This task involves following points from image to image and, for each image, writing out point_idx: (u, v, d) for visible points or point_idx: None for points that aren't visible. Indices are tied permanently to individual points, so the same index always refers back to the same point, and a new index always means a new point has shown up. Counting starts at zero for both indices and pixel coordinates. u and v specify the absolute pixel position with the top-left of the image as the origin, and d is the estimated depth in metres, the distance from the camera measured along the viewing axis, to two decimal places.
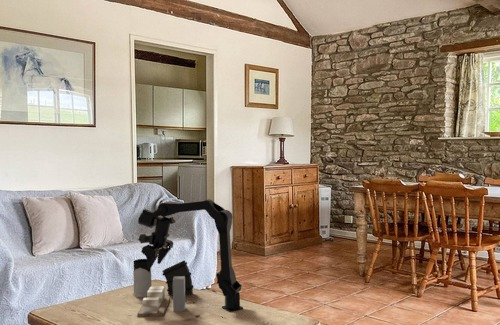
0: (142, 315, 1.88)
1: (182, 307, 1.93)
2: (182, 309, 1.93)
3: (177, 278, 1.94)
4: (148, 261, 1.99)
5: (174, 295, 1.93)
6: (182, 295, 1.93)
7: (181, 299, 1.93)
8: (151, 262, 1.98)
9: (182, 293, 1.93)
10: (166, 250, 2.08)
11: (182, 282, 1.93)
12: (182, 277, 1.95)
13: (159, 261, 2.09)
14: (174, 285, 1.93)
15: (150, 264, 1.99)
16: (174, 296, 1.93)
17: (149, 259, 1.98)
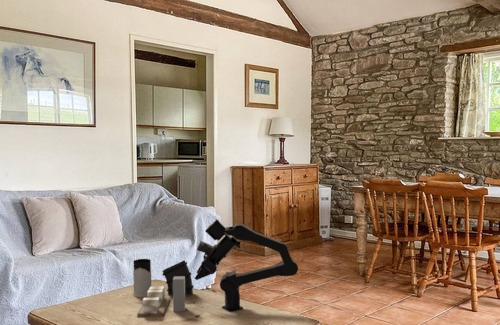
0: (142, 315, 1.88)
1: (182, 307, 1.93)
2: (182, 309, 1.93)
3: (177, 278, 1.94)
4: (200, 273, 1.89)
5: (174, 295, 1.93)
6: (182, 295, 1.93)
7: (181, 299, 1.93)
8: (203, 275, 1.89)
9: (182, 293, 1.93)
10: None
11: (182, 282, 1.93)
12: (182, 277, 1.95)
13: (199, 271, 2.00)
14: (174, 285, 1.93)
15: (200, 276, 1.90)
16: (174, 296, 1.93)
17: (202, 271, 1.89)
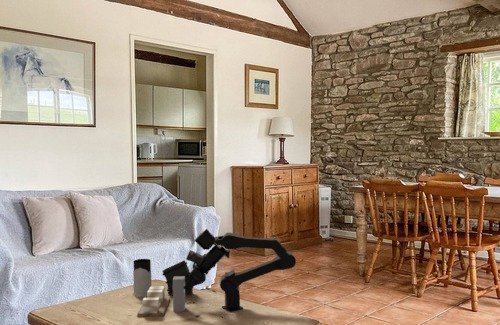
0: (142, 315, 1.88)
1: (182, 307, 1.93)
2: (182, 309, 1.93)
3: (177, 278, 1.94)
4: (189, 282, 1.89)
5: (174, 295, 1.93)
6: (182, 295, 1.93)
7: (181, 299, 1.93)
8: (191, 285, 1.89)
9: (182, 293, 1.93)
10: None
11: (182, 282, 1.93)
12: (182, 277, 1.95)
13: None
14: (174, 285, 1.93)
15: (189, 286, 1.90)
16: (174, 296, 1.93)
17: (191, 281, 1.89)
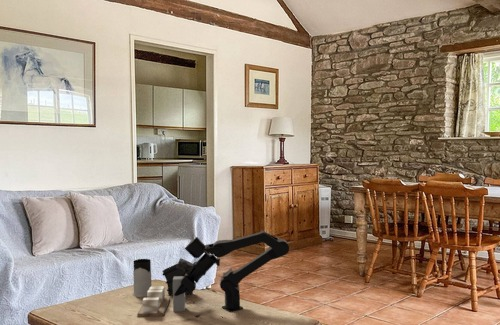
0: (142, 315, 1.88)
1: (182, 307, 1.93)
2: (182, 309, 1.93)
3: (177, 278, 1.94)
4: (179, 289, 1.92)
5: (174, 295, 1.93)
6: (182, 295, 1.93)
7: (181, 299, 1.93)
8: (182, 291, 1.92)
9: None
10: None
11: None
12: (182, 277, 1.95)
13: None
14: (174, 285, 1.93)
15: (179, 292, 1.92)
16: (174, 296, 1.93)
17: (182, 288, 1.92)
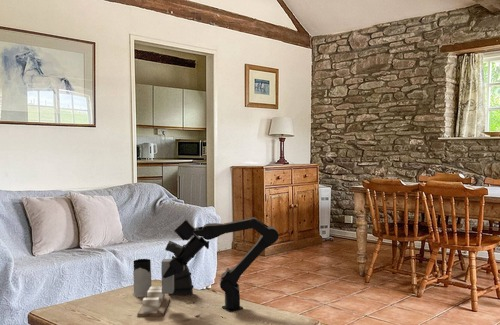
0: (142, 315, 1.88)
1: (171, 289, 1.93)
2: (170, 291, 1.93)
3: (166, 260, 1.94)
4: (168, 271, 1.91)
5: None
6: (170, 277, 1.93)
7: (170, 281, 1.93)
8: (171, 274, 1.91)
9: None
10: None
11: None
12: (171, 259, 1.95)
13: None
14: (163, 267, 1.92)
15: (168, 275, 1.91)
16: (163, 279, 1.92)
17: (170, 270, 1.91)
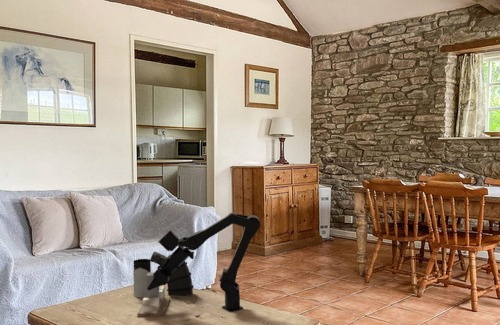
0: (142, 315, 1.88)
1: None
2: None
3: (151, 274, 1.94)
4: (152, 283, 1.90)
5: (148, 291, 1.92)
6: (155, 291, 1.93)
7: (155, 295, 1.93)
8: (155, 286, 1.90)
9: (156, 289, 1.93)
10: None
11: None
12: None
13: None
14: (148, 281, 1.92)
15: (152, 287, 1.90)
16: (148, 293, 1.92)
17: (154, 282, 1.90)
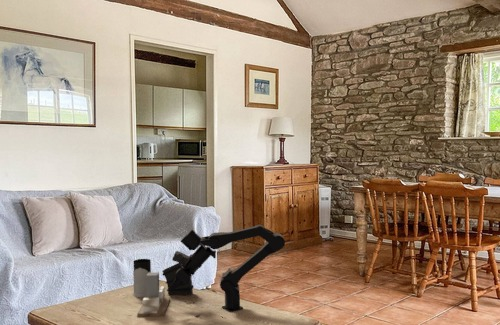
0: (142, 315, 1.88)
1: None
2: None
3: (151, 274, 1.94)
4: (175, 283, 1.89)
5: (148, 291, 1.92)
6: (155, 291, 1.93)
7: (155, 295, 1.93)
8: (177, 285, 1.89)
9: (156, 289, 1.93)
10: None
11: (156, 278, 1.92)
12: (156, 273, 1.95)
13: None
14: (148, 281, 1.92)
15: (175, 286, 1.90)
16: (148, 293, 1.92)
17: (177, 282, 1.89)
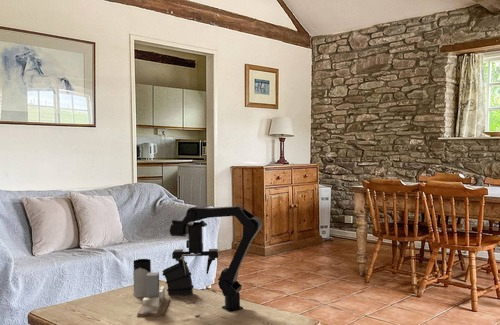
0: (142, 315, 1.88)
1: None
2: None
3: (151, 274, 1.94)
4: None
5: (148, 291, 1.92)
6: (155, 291, 1.93)
7: (155, 295, 1.93)
8: None
9: (156, 289, 1.93)
10: None
11: (156, 278, 1.92)
12: (156, 273, 1.95)
13: (206, 271, 2.00)
14: (148, 281, 1.92)
15: (182, 269, 1.99)
16: (148, 293, 1.92)
17: None
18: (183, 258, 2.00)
